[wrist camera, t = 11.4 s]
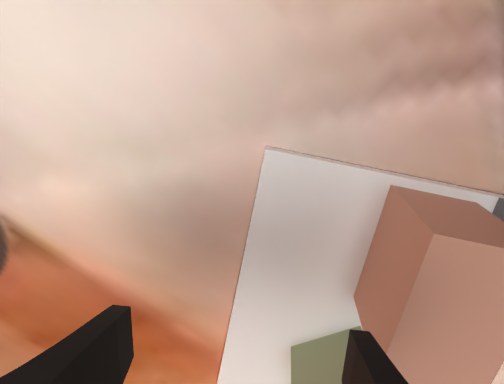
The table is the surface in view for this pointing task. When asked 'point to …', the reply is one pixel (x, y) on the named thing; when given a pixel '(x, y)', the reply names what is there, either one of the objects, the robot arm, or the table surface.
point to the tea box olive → (320, 359)
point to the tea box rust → (435, 288)
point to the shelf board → (309, 257)
